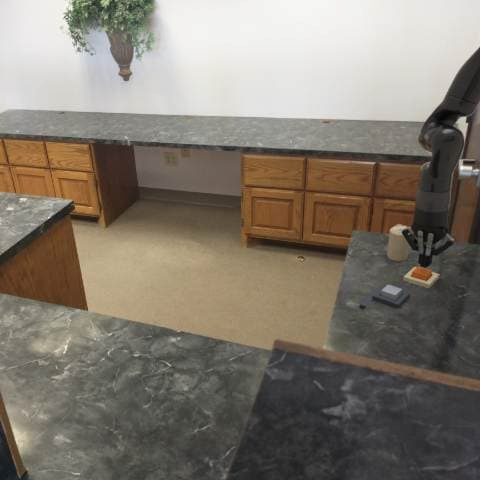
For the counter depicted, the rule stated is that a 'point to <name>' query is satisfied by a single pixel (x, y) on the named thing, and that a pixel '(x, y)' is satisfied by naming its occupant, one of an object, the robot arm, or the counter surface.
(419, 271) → the key
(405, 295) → the keypad
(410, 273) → the keypad
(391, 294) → the key
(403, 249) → the candle
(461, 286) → the counter surface
